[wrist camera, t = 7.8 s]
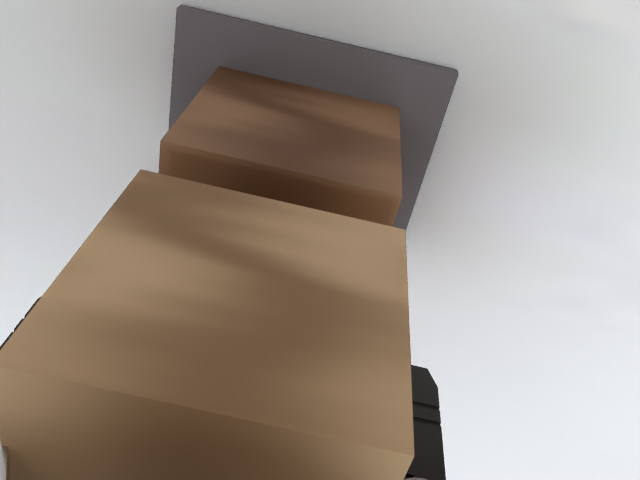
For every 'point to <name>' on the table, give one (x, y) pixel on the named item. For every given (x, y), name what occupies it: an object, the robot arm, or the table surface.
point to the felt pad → (317, 78)
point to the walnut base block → (289, 145)
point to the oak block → (215, 346)
